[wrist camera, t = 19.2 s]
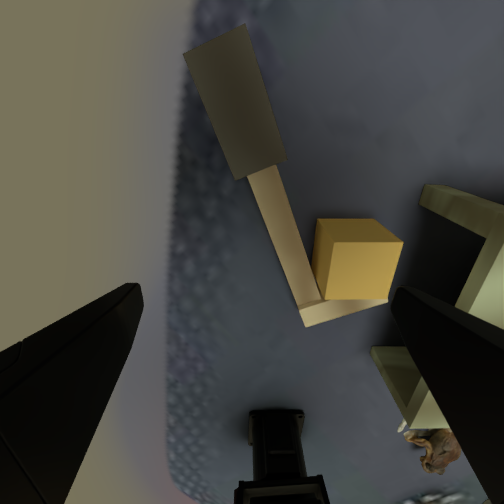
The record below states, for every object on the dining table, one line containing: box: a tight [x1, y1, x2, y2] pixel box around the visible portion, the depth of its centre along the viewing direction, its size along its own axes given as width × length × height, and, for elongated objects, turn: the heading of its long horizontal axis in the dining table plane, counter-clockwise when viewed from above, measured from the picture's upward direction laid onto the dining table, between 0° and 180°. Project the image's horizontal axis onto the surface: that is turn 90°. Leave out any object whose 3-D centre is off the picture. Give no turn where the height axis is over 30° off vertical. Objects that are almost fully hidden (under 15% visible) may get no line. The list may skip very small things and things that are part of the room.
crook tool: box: [183, 24, 388, 327], centre depth 18 cm, size 8×20×5 cm, turn 21°
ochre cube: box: [311, 219, 404, 300], centre depth 20 cm, size 4×4×4 cm
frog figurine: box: [398, 419, 461, 475], centre depth 33 cm, size 12×12×4 cm
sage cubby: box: [370, 184, 504, 429], centre depth 21 cm, size 18×11×8 cm, turn 178°
